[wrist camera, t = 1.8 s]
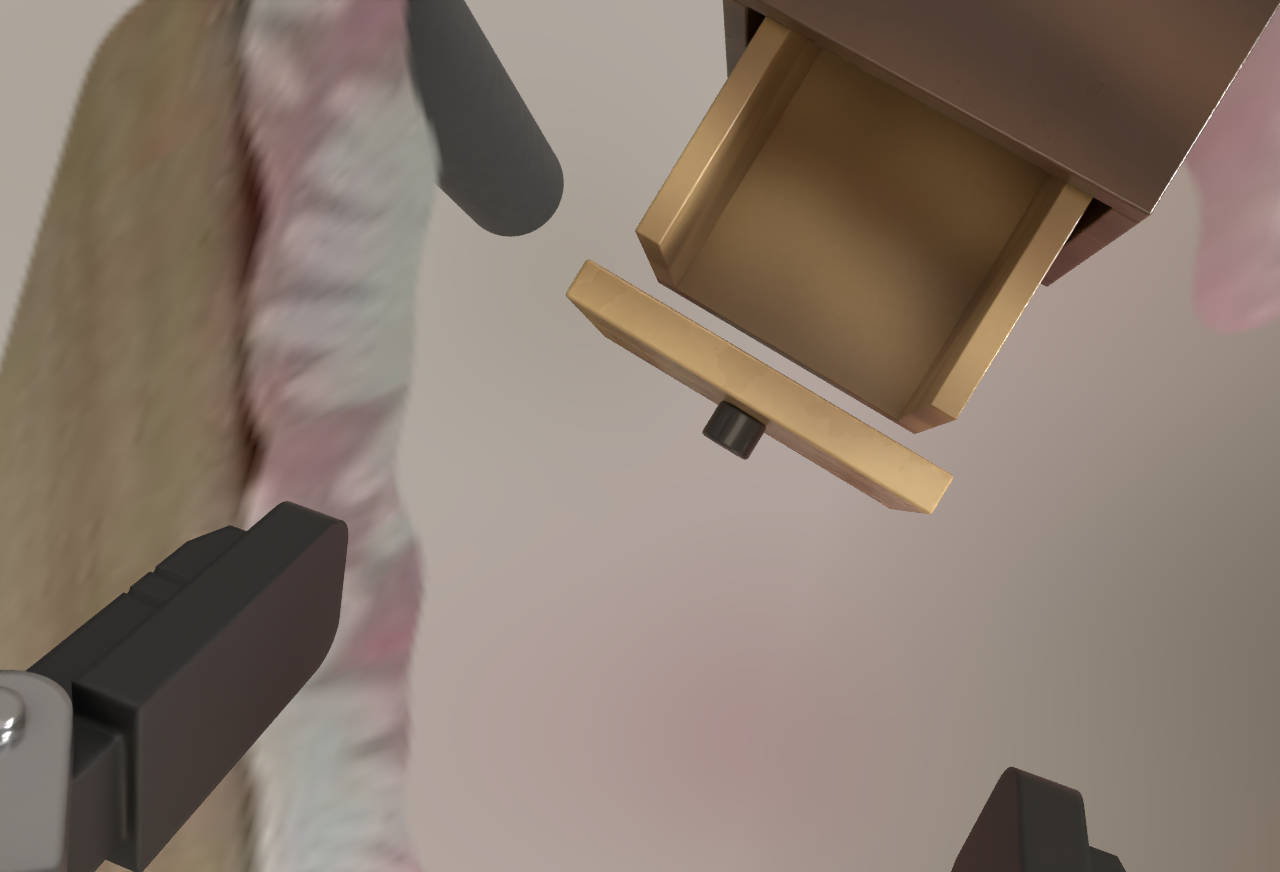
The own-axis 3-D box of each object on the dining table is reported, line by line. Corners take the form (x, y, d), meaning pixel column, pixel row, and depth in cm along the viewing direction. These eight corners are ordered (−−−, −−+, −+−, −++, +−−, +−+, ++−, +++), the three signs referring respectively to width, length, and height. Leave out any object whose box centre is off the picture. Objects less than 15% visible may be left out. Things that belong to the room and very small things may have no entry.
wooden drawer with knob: (873, 541, 36) (907, 554, 28) (585, 365, 37) (540, 332, 30) (1106, 161, 36) (1204, 71, 28) (808, -2, 37) (823, -131, 29)
